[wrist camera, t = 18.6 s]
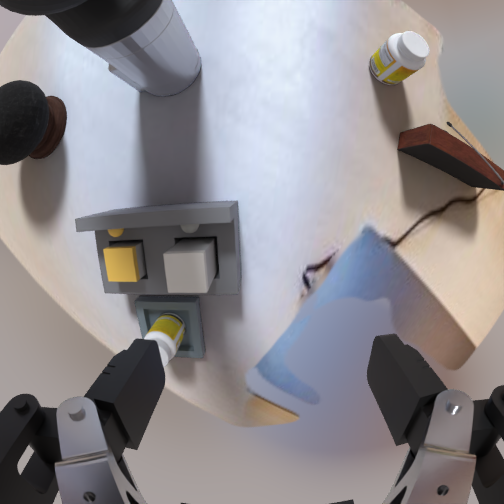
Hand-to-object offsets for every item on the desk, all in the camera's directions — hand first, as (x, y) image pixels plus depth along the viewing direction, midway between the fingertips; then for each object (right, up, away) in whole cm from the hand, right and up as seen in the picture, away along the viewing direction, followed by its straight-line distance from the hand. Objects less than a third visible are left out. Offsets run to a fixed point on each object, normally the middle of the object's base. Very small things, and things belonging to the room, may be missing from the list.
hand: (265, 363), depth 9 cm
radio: (+27, +18, +24) cm, 41 cm away
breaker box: (-11, +5, +28) cm, 31 cm away
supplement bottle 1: (-13, -7, +31) cm, 34 cm away
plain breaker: (-7, +4, +25) cm, 26 cm away
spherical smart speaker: (-36, +25, +24) cm, 50 cm away
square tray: (-13, -7, +31) cm, 34 cm away
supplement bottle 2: (+19, +31, +21) cm, 42 cm away
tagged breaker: (-16, +4, +28) cm, 32 cm away
